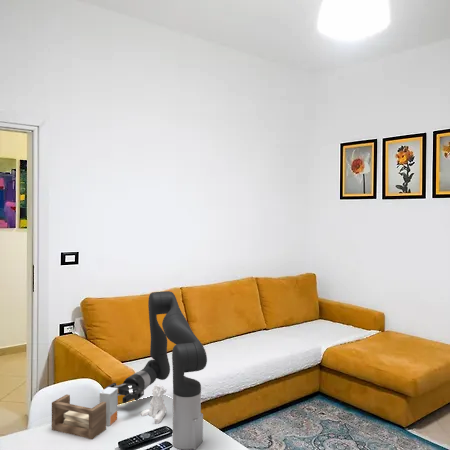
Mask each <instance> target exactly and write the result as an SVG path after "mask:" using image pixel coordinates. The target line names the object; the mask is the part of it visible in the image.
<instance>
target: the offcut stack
mask: <svg viewBox="0 0 450 450" xmlns="http://www.w3.org/2000/svg"><path fill="white" fill-rule="evenodd" d="M64 418H65V420H64V423H63V424H65V425H70V426H74V427H79V428H83V429H88V430H89V415H88V414H83V413H79V412H74V411H68V412H66V413H64Z"/></svg>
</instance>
